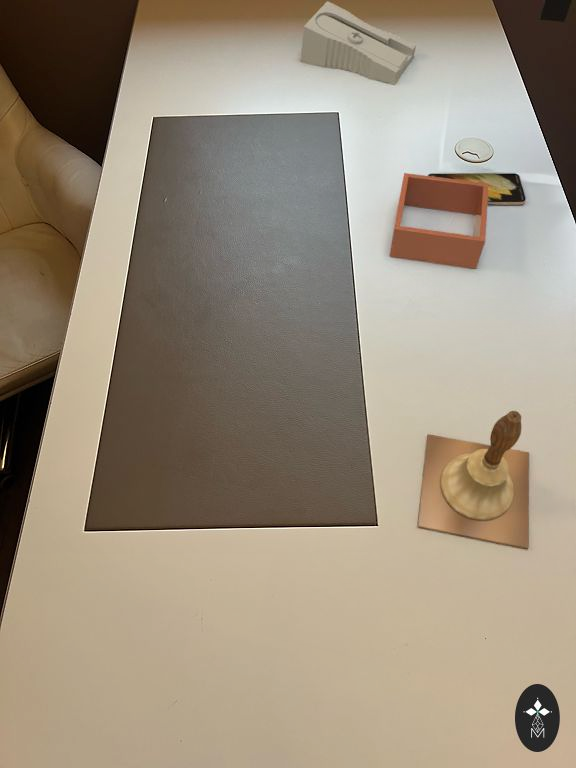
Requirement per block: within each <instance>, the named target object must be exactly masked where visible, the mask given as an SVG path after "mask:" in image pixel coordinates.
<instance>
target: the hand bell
mask: <svg viewBox="0 0 576 768" xmlns="http://www.w3.org/2000/svg"><path fill="white" fill-rule="evenodd" d="M491 429H492V430H491V432H490V437H489V440H490V444H489V445H490V447H489V449H480V450H477V451H475V452H473V453H472V454H464V455H460V456H457V457H455V458H453V459H452V460H451V461H449V462H448V463H447V465H446V466H445V467H444V469H443V471H442V474H441V482H440V484H441V490H442V493H443V496H444V498H445V499H446V501H447V502H448V504H449V505H450V506H451V507H452V508H453V509H454V510H455V511H457V512H458V513H459V514H461V515H463V516H465V517H467V518H470V519H474V520H480V521H485V520H491V519H495V518H497V517H499V516H501V515H503V514H504V513H505V512H506V511H507V510H508V509H509V507H510V506H511V504H512V501H513V497H514V487H513V483H512V480H511V478H510V476H509V474H508V472H509V469H508V464H507V462H506V460H505V459H504V458H503V454H504V452H505V451H507V450H509V449H513V447H514V446H515V445H516V444H517V442H518V441H519V439H520V437H521V434H522V415H521V413H520V412H519V411H517V410H510V411H508V413H507V414H505V415H503V416H502V417H500V418H499V419H498V420H497V421H496V422H495V423H494V425H493V427H492V428H491Z"/></svg>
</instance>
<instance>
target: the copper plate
mask: <svg viewBox="0 0 576 768" xmlns="http://www.w3.org/2000/svg"><path fill="white" fill-rule="evenodd" d="M490 445H491V444H486V443H485V444H484V443H481V442H480V443H479V442H473V441H467V440H462V439H458V438H452V437H445V436H440V435H435V434H430V433H429V434H427V435H426V445H425V454H424V462H423V472H422V481H421V488H420V489H421V491H420V500H419V509H418V518H417V528H419V529H424V530H429V531H434V532H439V533H444V534H450V535H454V536H458V537H465V538H469V539H474V540H479V541H483V542H490V543H493V544H499V545H502V546H503V545H504V546H509V547H513V548H518V549H524V550H528V549H530V548H529V546H530V537H529V536H530V522H529V521H530V452H528V451H523V450H518V449H513V448H510V449H509V450H507V451H505V452H504V454H503V458H504V459H505V460H506V462H507V464H508V469H509V472H508V474H509V476H510V478H511V480H512V483H513V487H514V497H513V501H512V504H511V506H510V507H509V509H508V510H507V511H506V512H505V513H504V514H503V515H501V516H499V517H497V518H495V519H491V520H485V521H480V520H474V519H470V518H467V517H465V516H463V515H461V514H459V513H458V512H457V511H455V510H454V509H453V508H452V507H451V506H450V505H449V504H448V502H447V501H446V499H445V498H444V496H443V493H442V490H441V484H440V482H441V474H442V471H443V469H444V467H445V466H446V465H447V463H448V462H449V461H451V460H452V459H453V458H455V457H457V456H460V455H464V454H472V453H473V452H475V451H477V450H480V449H489V447H490Z"/></svg>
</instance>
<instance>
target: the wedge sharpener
mask: <svg viewBox="0 0 576 768" xmlns="http://www.w3.org/2000/svg"><path fill="white" fill-rule="evenodd" d="M416 48H417V44H415V43H413V42H411V41H409V40H407V39H404V38H403V37H401V36H398V35H396V34H394V33H391V32H389V31H385V30H383V29H379V28H378V27H375V26H373V25H370V24H369V23H368V22H365V21H364V20H361V19H360V18H359V17H357V16H355V15H354V14H352V12H350V11H349V10H346V9H344V8H342V7H340V6H339V5H336V4H335V3H333V2H330V1H328V0H327V1H326V2H325V3H324V4H322V6H321V7H320V8H319V9H318V10H317V12H315V14H313V16H311V18H309V20H308V21H307V22H306V23H305V24H304V26H303V33H302V43H301V54H300V62H301V61H302V62H301V63H304V62H305V64H309V65H313V66H317V67H322V68H329V69H331V68H332V69H339V70H343V71H349V72H350V73H351V72H353V73H355V74H359V75H360V76H363V77H364V76H365V78H368V79H369V78H371V79H370V80H373V79H375V80H374V81H377V80H378V82H381V81H383V82H382V83H385V82H387V83H386V84H389V83H391V84H390V85H393V84H394V85H396V83H397V82H398V80H399V79H400V77H401V76H402V74H404V72H403V71H405V70H406V69H407V67H408V66H409V64H410V63H411V62H410V61H412V60H413V59H414V57H415V53H416ZM412 58H413V59H412ZM405 68H406V69H405ZM400 75H401V76H400ZM398 78H399V79H398ZM379 80H380V81H379ZM396 81H397V82H396Z"/></svg>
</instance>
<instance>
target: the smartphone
mask: <svg viewBox="0 0 576 768" xmlns="http://www.w3.org/2000/svg"><path fill="white" fill-rule="evenodd" d="M427 176H432V177H440V178H448V179H456V180H464V181H472V182H480V183H488V184H489V187H488V204H487V205H524V204H525V203H526V201H527V197H526V194H525V189H524V186H523V184H522V180H521V177H520V175H519V174H518V173H515V172H507V173H505V172H504V173H503V172H502V173H501V172H500V173H499V172H496V173H495V172H492V173H489V172H488V173H487V172H485V173H483V172H482V173H479V172H478V173H476V172H475V173H468V172H467V173H466V172H463V173H460V172H459V173H428V174H427Z"/></svg>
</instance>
